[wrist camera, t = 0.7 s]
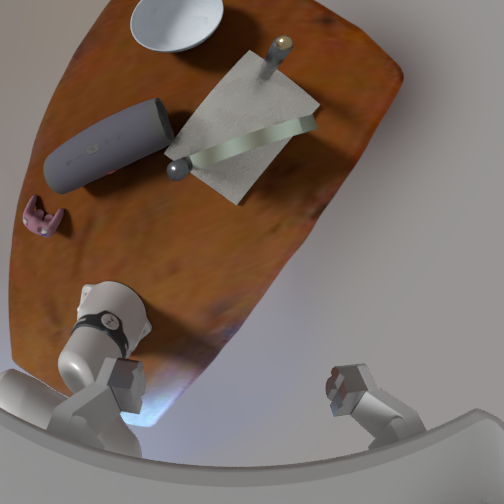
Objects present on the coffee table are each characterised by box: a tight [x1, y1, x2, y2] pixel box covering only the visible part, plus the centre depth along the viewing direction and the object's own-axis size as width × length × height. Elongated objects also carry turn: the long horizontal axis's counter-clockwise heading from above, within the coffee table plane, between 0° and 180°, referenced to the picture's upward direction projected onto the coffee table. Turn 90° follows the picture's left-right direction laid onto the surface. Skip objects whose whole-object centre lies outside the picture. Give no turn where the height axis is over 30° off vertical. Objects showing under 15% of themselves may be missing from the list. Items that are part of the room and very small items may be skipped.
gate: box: [190, 114, 318, 171], centre depth 37 cm, size 16×2×14 cm, turn 110°
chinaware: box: [130, 0, 223, 53], centre depth 32 cm, size 15×15×8 cm
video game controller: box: [23, 195, 64, 237], centre depth 44 cm, size 10×5×7 cm, turn 63°
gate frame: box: [164, 35, 320, 205], centre depth 35 cm, size 24×16×19 cm, turn 142°
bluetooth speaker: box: [44, 98, 174, 194], centre depth 38 cm, size 23×9×10 cm, turn 106°
